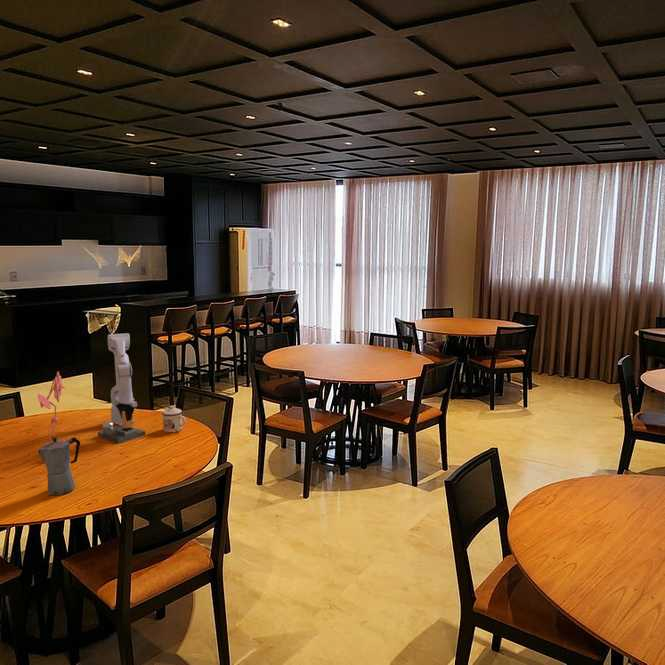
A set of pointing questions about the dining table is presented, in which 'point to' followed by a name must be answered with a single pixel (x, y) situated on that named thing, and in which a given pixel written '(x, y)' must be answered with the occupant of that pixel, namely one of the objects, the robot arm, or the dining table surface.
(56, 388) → the pink orchid stem
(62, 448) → the moka pot
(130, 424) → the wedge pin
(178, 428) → the teacup with lid
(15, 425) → the dining table surface
